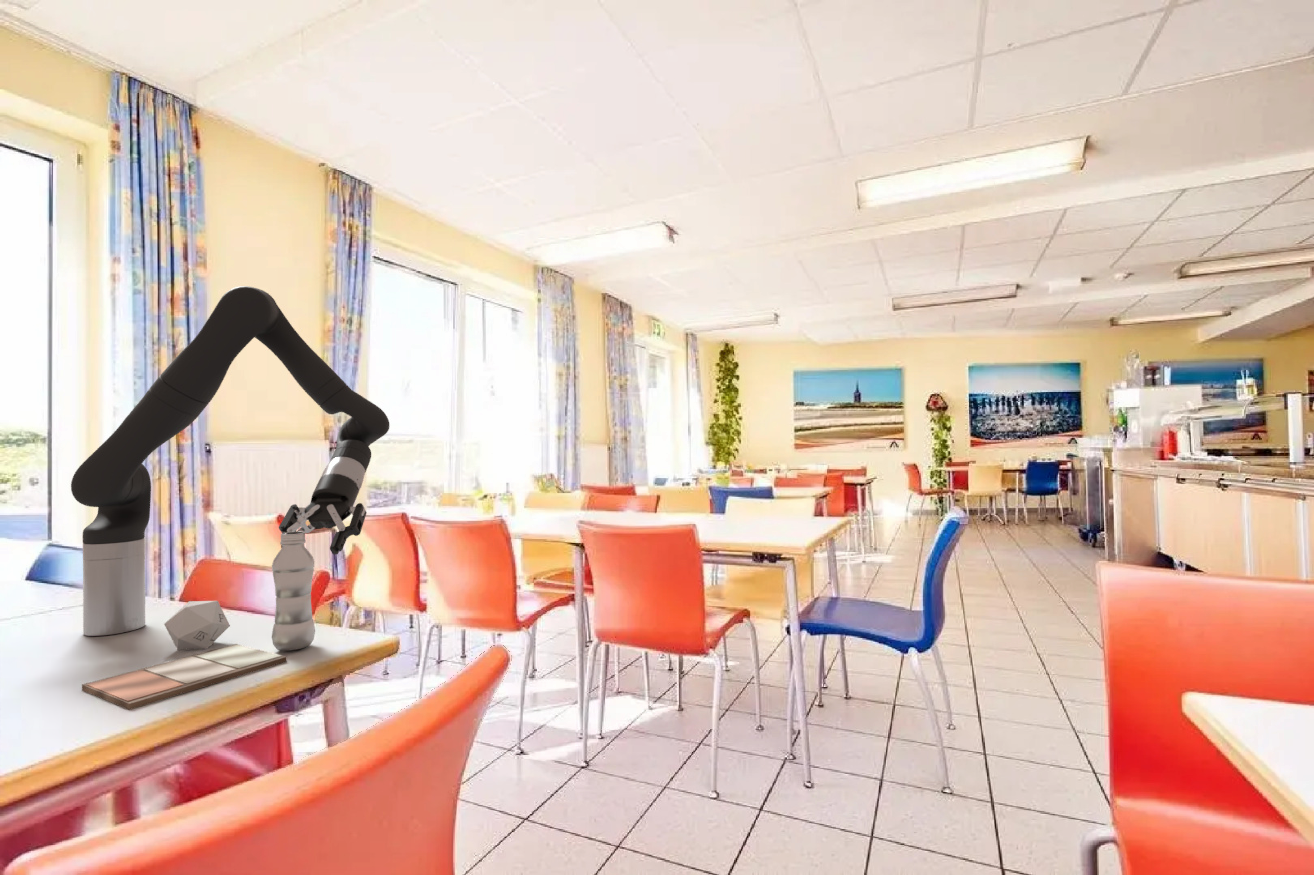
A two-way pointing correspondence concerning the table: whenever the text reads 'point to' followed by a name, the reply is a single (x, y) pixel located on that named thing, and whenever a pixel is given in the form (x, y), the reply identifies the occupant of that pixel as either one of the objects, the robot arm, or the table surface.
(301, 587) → the plastic bottle
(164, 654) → the table surface
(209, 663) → the game board
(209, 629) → the die
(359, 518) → the robot arm
